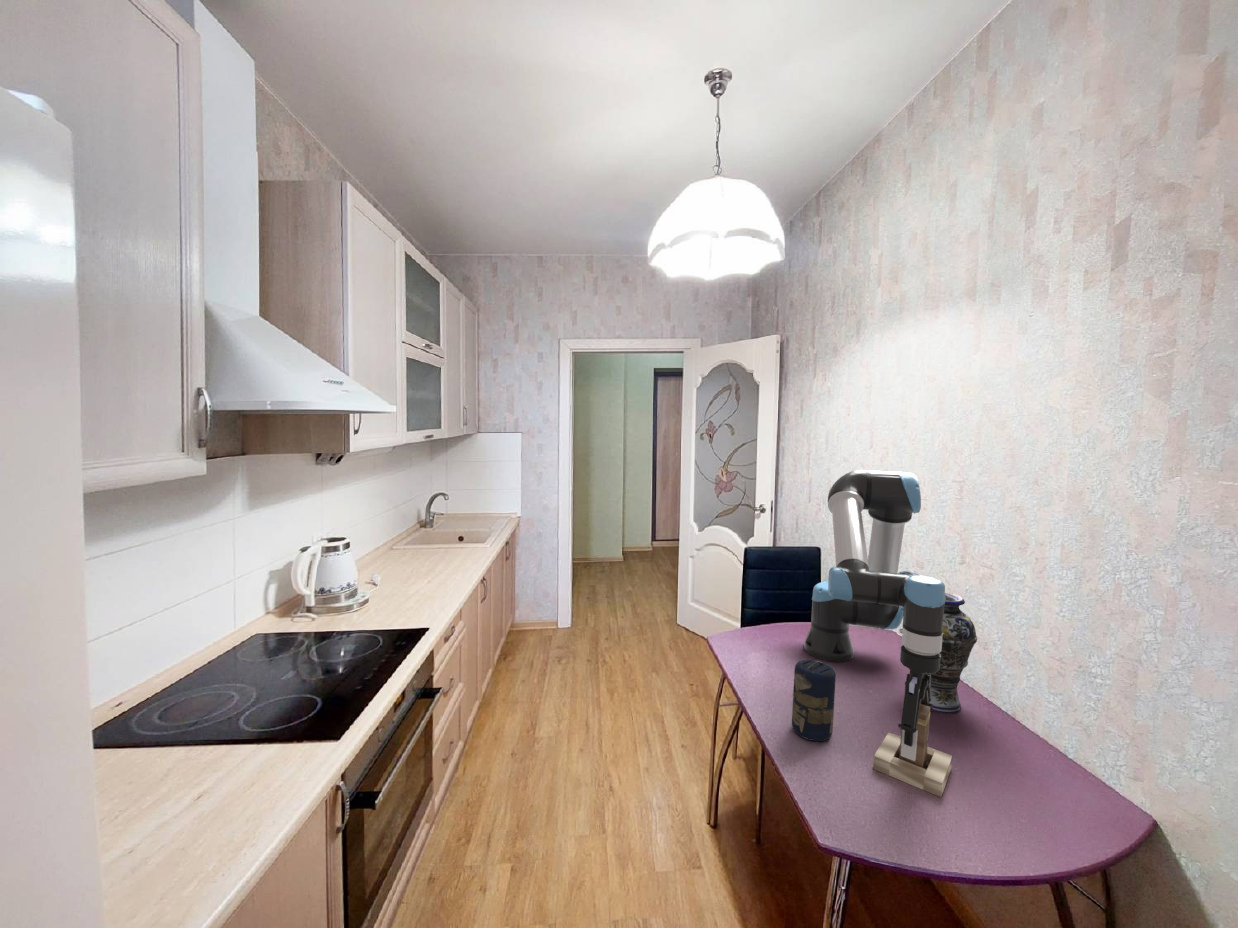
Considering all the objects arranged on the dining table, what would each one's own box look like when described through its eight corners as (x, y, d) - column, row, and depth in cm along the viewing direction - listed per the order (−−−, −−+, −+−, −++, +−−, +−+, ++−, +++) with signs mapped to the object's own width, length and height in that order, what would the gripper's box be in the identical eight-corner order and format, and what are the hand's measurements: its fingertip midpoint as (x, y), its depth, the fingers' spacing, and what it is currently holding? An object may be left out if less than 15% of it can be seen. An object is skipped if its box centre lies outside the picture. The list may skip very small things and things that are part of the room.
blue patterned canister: (783, 725, 132) (786, 656, 130) (814, 718, 135) (817, 651, 134) (808, 747, 123) (812, 673, 121) (841, 740, 126) (845, 668, 125)
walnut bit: (903, 758, 119) (907, 699, 118) (926, 767, 116) (930, 706, 115) (898, 768, 116) (902, 707, 115) (921, 777, 113) (926, 715, 112)
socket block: (887, 744, 125) (888, 732, 125) (951, 768, 116) (952, 755, 116) (873, 768, 116) (873, 755, 116) (941, 797, 107) (942, 783, 107)
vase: (943, 724, 134) (952, 610, 131) (886, 691, 149) (893, 589, 147) (987, 712, 140) (995, 602, 137) (927, 682, 156) (934, 583, 153)
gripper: (913, 628, 125) (907, 718, 127) (887, 660, 108) (881, 763, 110) (950, 637, 120) (943, 730, 122) (929, 672, 103) (922, 779, 105)
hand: (913, 745), depth 116 cm, fingers open, 10 cm apart
